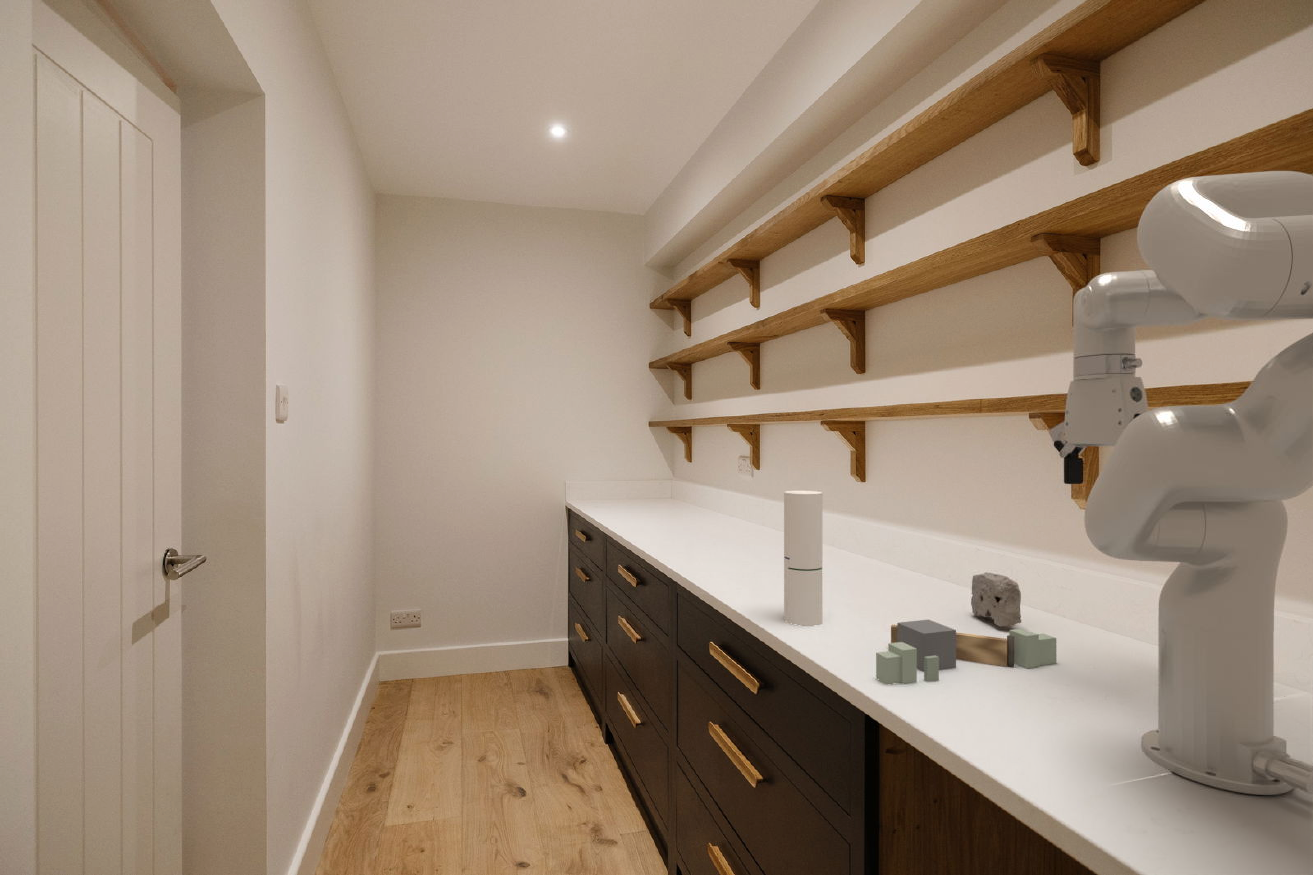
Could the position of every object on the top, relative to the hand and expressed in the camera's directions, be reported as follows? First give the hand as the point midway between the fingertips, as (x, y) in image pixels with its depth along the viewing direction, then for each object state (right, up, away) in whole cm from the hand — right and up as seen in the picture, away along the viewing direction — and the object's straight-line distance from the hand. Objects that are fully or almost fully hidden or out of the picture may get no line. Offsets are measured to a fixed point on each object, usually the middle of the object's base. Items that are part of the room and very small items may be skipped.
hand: (1103, 486), depth 95 cm
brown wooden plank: (-18, -28, +10) cm, 35 cm away
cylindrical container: (-38, -28, +28) cm, 55 cm away
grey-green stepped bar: (-18, -28, +3) cm, 34 cm away
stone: (-2, -29, +26) cm, 39 cm away
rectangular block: (-24, -28, +6) cm, 37 cm away
